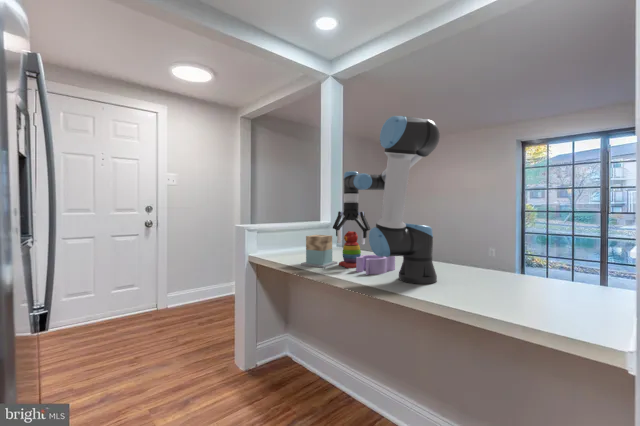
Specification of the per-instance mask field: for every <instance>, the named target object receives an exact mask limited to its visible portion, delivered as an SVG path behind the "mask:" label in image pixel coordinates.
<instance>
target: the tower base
mask: <svg viewBox="0 0 640 426" xmlns="http://www.w3.org/2000/svg"><path fill="white" fill-rule="evenodd" d="M337 264H338V261H334V260H333V248H332V249H329V250H325V251H316V250H306V249H305V261H304V262H301V263H300V266H305V267H314V268H322V269H326V268H328V267H331V266H333V265H337Z"/></svg>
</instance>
